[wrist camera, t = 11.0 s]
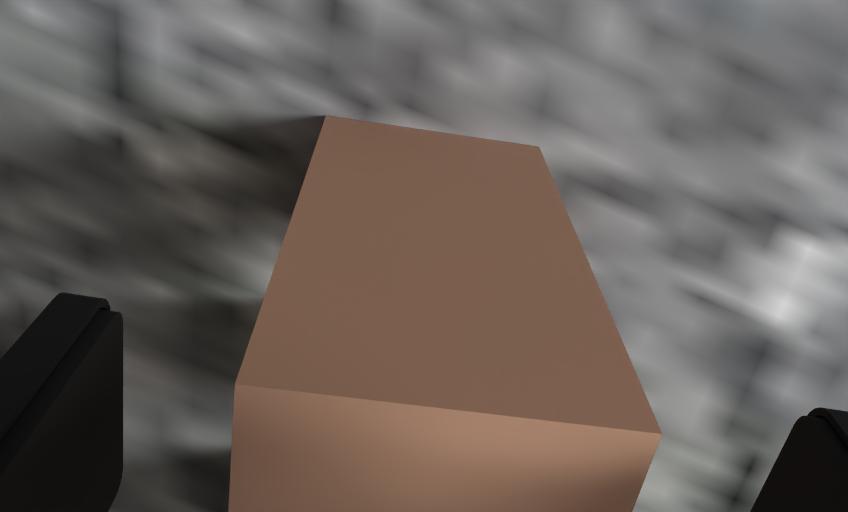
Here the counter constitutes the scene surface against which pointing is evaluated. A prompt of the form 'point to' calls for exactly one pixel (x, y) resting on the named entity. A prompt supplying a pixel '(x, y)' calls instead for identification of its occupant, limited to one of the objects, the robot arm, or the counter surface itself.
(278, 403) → the domino
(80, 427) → the robot arm
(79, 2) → the counter surface
